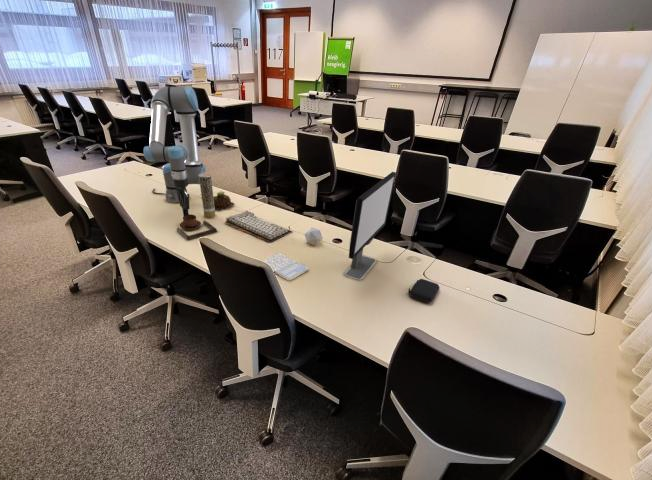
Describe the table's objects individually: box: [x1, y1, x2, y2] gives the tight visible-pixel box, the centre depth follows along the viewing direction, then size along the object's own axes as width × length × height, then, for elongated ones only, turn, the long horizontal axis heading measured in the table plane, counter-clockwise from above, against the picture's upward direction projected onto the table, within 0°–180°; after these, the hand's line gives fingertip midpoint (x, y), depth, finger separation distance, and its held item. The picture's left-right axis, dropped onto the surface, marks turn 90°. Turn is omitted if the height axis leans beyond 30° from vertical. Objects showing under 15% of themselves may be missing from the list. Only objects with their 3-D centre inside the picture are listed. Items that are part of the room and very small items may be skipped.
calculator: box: [262, 252, 309, 281], centre depth 155 cm, size 13×20×2 cm, turn 47°
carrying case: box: [407, 278, 441, 304], centre depth 141 cm, size 11×3×15 cm
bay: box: [176, 220, 218, 241], centre depth 183 cm, size 14×17×2 cm
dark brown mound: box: [213, 190, 235, 211], centre depth 212 cm, size 17×16×10 cm
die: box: [304, 226, 323, 247], centre depth 174 cm, size 8×9×10 cm
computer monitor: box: [344, 171, 397, 281], centre depth 146 cm, size 41×8×40 cm, turn 148°
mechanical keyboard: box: [224, 210, 293, 243], centre depth 189 cm, size 38×19×3 cm, turn 50°
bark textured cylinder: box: [199, 172, 216, 219], centre depth 194 cm, size 7×7×25 cm
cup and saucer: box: [179, 214, 202, 231], centre depth 187 cm, size 12×12×6 cm
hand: (186, 219), depth 189 cm, fingers closed
